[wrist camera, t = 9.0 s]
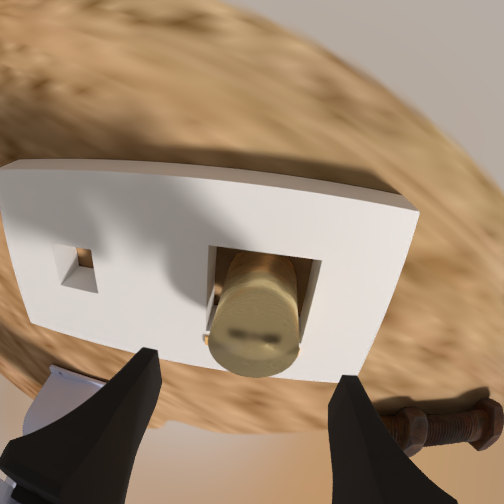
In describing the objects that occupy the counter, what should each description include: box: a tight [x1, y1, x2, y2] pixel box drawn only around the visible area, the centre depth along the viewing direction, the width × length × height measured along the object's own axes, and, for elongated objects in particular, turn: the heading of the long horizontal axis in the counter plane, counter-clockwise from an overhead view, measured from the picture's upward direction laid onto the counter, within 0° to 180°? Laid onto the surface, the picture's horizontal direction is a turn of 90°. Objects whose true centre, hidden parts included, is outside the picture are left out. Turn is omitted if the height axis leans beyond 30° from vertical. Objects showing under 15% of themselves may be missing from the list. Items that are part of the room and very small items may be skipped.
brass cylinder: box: [208, 250, 299, 378], centre depth 16 cm, size 4×4×6 cm
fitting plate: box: [0, 159, 420, 383], centre depth 18 cm, size 24×12×3 cm, turn 84°
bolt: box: [380, 398, 504, 457], centre depth 23 cm, size 6×5×15 cm
